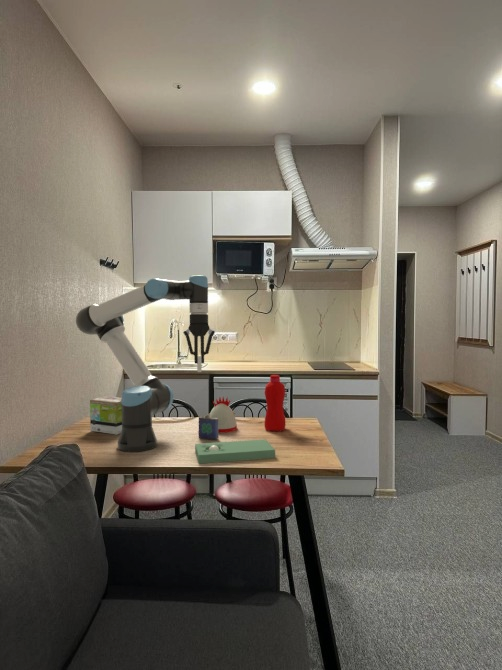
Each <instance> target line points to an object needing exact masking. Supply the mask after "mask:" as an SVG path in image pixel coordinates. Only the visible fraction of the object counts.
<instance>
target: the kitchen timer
mask: <svg viewBox="0 0 502 670" xmlns="http://www.w3.org/2000/svg"><path fill="white" fill-rule="evenodd" d="M221 398H222V399H221ZM228 399H229V398H228V396H226V399H225V398H224V396H222V397H221V396H219V398H218V399H217V398H216V399H215V401H216V403H215V402H214V400H212V402H213V408H212V409H211V411H210V413H209V414H210V415H209V416H210V418H218V434H219V433H220V434H221V433H222V434H224V433H230V432H234V431H237V429H238V427H237V426H238V424H237V419H236V417H235V412H234V411H233V410H232V408H231V407H230V406H229V405H230V404H231V400H232V399H230V400H229V401H228Z"/></svg>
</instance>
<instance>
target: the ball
mask: <svg viewBox="0 0 502 670" xmlns="http://www.w3.org/2000/svg"><path fill="white" fill-rule="evenodd" d="M209 450H210V451H213V450H219V448H218V447H217V446H215V445H213V446H211V447H210V448H209Z"/></svg>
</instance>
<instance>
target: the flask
mask: <svg viewBox="0 0 502 670" xmlns="http://www.w3.org/2000/svg"><path fill="white" fill-rule="evenodd" d="M209 415H210V413H206V415H202V416H199V417H198V439H200V440H201V439H202V440H208V441H209V440H211V441H214V440H215V441H218V440H219V433H218V418H210V416H209Z"/></svg>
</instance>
